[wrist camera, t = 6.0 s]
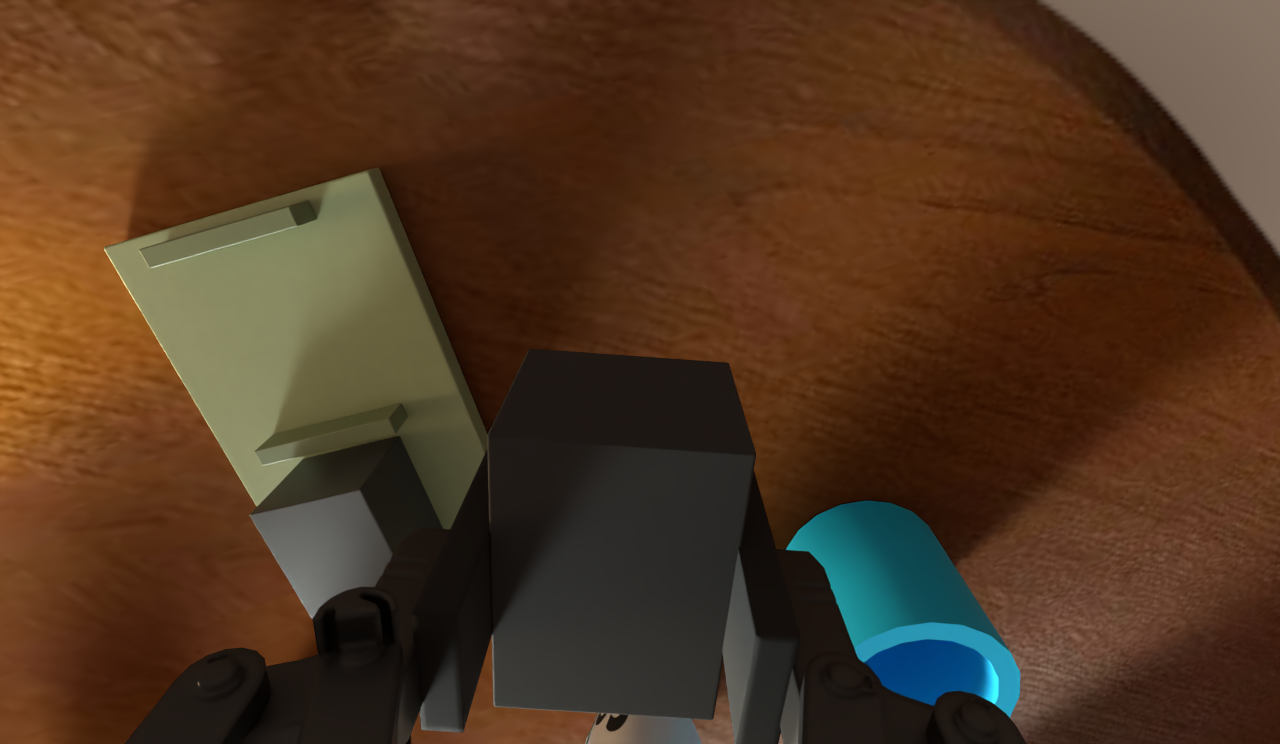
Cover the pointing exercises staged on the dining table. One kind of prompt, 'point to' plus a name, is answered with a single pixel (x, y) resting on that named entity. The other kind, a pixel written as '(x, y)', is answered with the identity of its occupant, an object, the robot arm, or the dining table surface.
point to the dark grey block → (615, 532)
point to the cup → (641, 730)
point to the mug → (908, 605)
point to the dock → (316, 372)
